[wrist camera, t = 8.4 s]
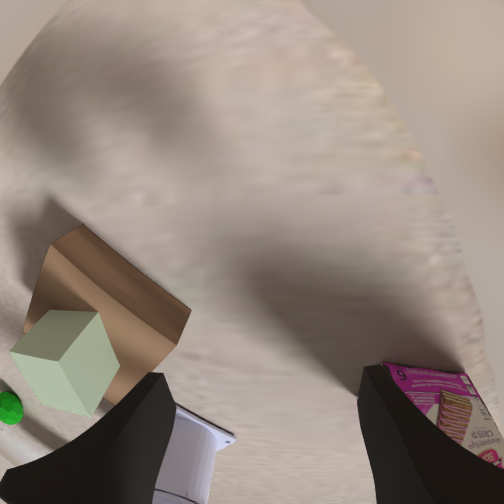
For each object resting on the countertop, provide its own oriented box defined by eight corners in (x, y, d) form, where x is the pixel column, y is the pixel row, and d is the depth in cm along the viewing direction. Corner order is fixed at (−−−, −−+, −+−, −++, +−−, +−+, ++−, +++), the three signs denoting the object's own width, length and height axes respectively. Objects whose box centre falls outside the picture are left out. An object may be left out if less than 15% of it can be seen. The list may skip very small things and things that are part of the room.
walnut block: (133, 376, 25) (117, 407, 21) (47, 308, 23) (22, 332, 19) (191, 310, 21) (176, 345, 18) (83, 224, 19) (50, 244, 16)
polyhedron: (21, 392, 29) (4, 414, 25) (33, 414, 31) (19, 435, 27) (-1, 380, 30) (-17, 400, 25) (11, 402, 31) (-3, 422, 27)
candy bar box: (468, 369, 23) (535, 500, 7) (441, 404, 24) (489, 532, 9) (380, 357, 22) (437, 546, 7) (353, 397, 24) (382, 568, 9)
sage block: (120, 366, 19) (91, 418, 14) (72, 360, 19) (40, 404, 15) (98, 311, 17) (58, 361, 13) (49, 309, 18) (9, 351, 13)
